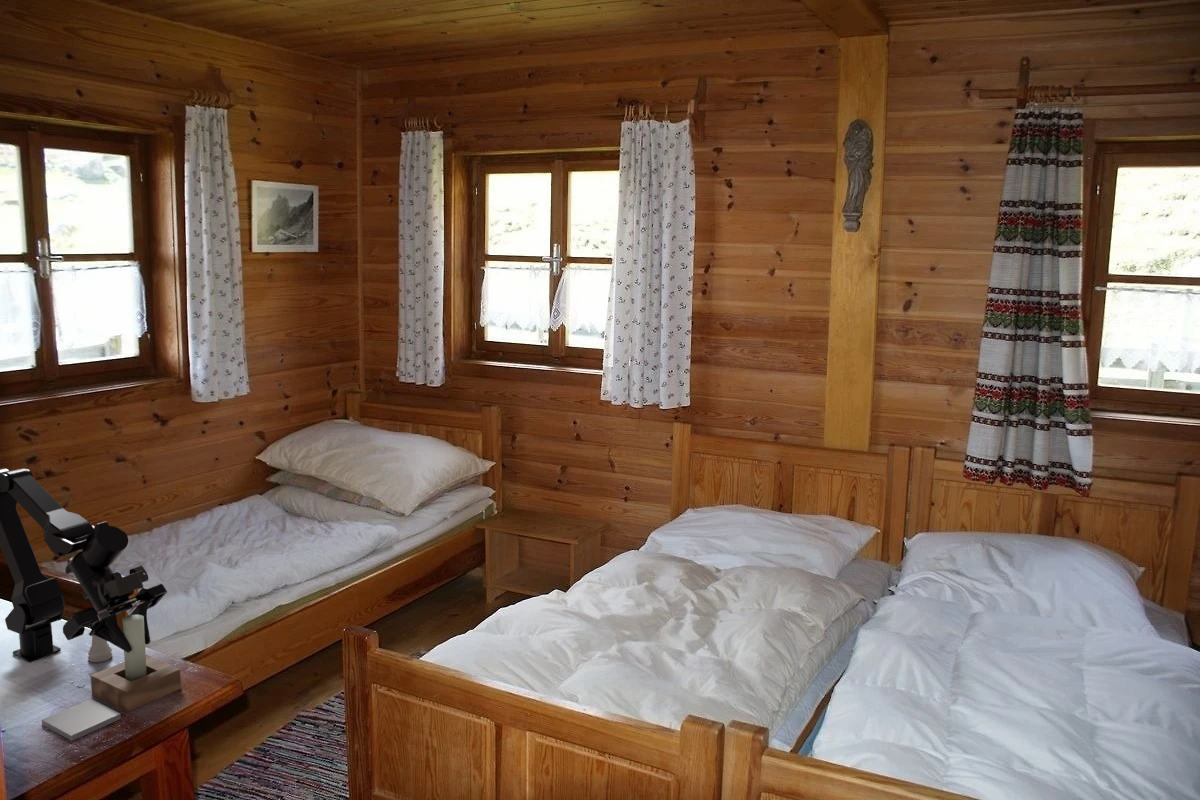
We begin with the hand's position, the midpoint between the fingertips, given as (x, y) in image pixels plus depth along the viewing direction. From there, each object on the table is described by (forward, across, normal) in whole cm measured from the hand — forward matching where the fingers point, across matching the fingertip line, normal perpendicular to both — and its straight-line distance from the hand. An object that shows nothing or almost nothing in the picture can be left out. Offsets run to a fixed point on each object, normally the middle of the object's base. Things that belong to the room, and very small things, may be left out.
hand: (139, 647), depth 180 cm
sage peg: (+4, 0, +6) cm, 7 cm away
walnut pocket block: (+6, 0, +8) cm, 10 cm away
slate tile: (+6, -12, +7) cm, 15 cm away
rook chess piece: (-7, +5, +20) cm, 22 cm away
